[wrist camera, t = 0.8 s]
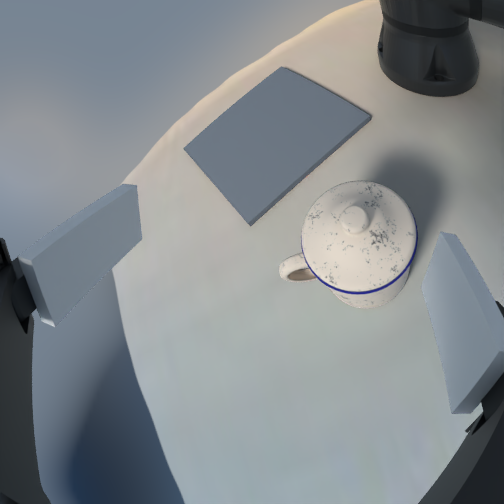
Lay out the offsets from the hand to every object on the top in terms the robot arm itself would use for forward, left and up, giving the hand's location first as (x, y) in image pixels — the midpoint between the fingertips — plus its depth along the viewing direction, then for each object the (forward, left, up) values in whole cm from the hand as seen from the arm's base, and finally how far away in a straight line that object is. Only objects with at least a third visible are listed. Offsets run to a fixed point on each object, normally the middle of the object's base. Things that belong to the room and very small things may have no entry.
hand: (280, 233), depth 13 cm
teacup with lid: (-3, -3, -20) cm, 20 cm away
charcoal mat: (-8, -24, -20) cm, 32 cm away
